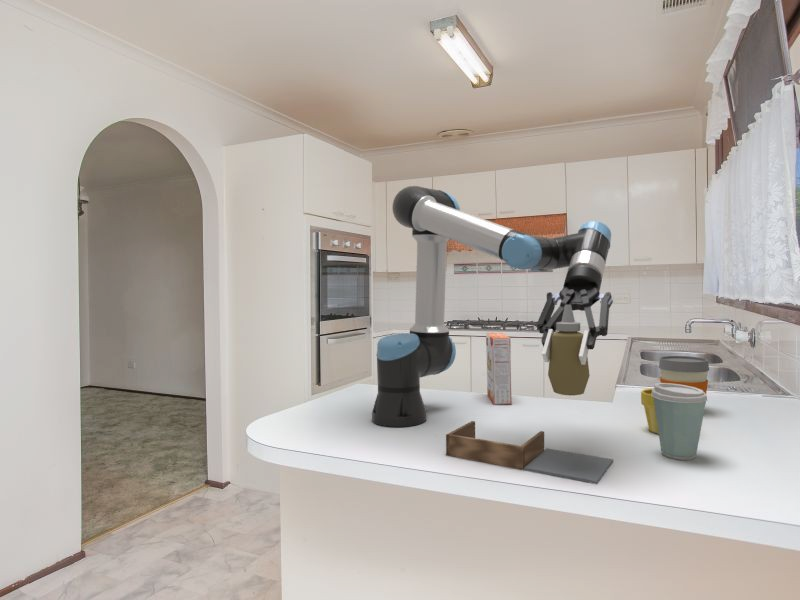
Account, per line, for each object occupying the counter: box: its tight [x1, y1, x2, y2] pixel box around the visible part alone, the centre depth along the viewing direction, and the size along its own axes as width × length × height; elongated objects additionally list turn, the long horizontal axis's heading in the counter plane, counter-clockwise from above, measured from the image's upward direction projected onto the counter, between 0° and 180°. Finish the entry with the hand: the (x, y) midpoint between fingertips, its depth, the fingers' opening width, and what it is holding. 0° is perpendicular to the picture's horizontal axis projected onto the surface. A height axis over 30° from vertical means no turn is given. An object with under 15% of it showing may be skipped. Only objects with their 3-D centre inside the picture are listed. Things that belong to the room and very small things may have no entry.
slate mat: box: [523, 448, 614, 485], centre depth 106 cm, size 14×14×1 cm
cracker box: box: [485, 332, 513, 405], centre depth 166 cm, size 14×6×21 cm, turn 178°
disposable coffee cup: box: [651, 382, 708, 461], centre depth 111 cm, size 11×11×15 cm
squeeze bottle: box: [547, 305, 591, 396], centre depth 105 cm, size 8×8×18 cm
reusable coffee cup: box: [658, 355, 710, 395], centre depth 147 cm, size 13×13×15 cm
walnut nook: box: [445, 420, 545, 471], centre depth 115 cm, size 18×13×4 cm
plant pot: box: [640, 388, 659, 435], centre depth 129 cm, size 10×10×10 cm
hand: (563, 359), depth 103 cm, fingers closed on squeeze bottle, 6 cm apart
